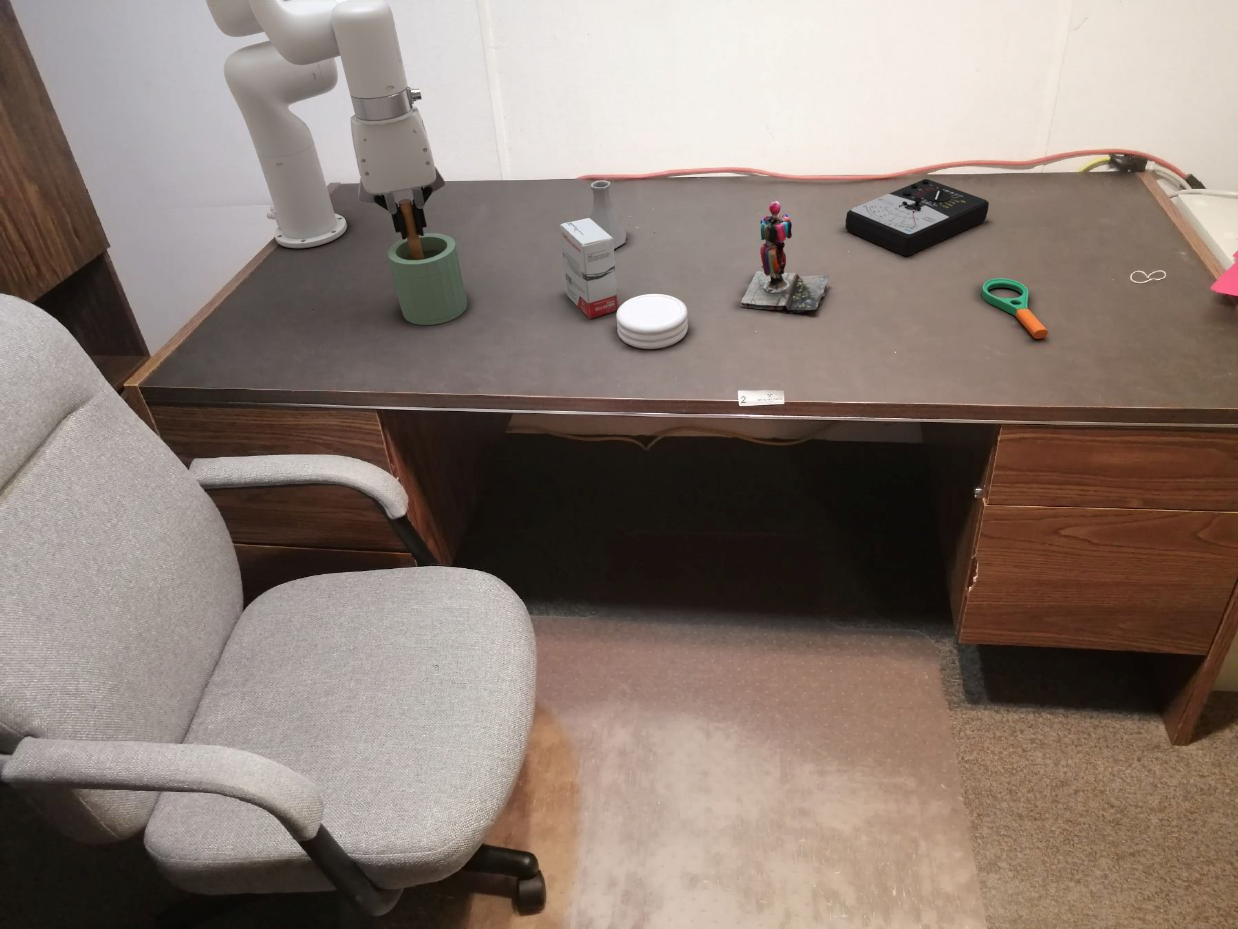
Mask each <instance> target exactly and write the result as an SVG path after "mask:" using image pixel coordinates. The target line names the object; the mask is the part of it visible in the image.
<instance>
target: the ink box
mask: <svg viewBox="0 0 1238 929" xmlns="http://www.w3.org/2000/svg"><path fill="white" fill-rule="evenodd" d="M559 231H560V239H561V248H562V249H561V250H562V258H563V267H564V278H565V279H564V280H565V285H566V286H565V287H566V289H565V290H566V296H567V297H568V298H569V300H571V301H572V302H573V303H574V304H575V306H576V307H578V309H579V310H580V311H581V312H582V313H583V315H585V316H586V317H587V318H588V319H594V318H597V317H601V316H605V315H608V314H611V313H614V312H617V310H618V309H619V307H618V292H617V280H616V279H617V278H616V277H617V276H616V261H615V260H616V259H615V249H614V242H613V238H612V237H611V236H610V235H609V234H608V233H606V232H605V231H604V230H603V229H602V228H601V227H599V226H598V225H597V224H596V223H595V222H593V221H592V220H591V217H586V218H581V219H577V220H574V221H567V222H563V223H561V224H560V225H559Z"/></svg>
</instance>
